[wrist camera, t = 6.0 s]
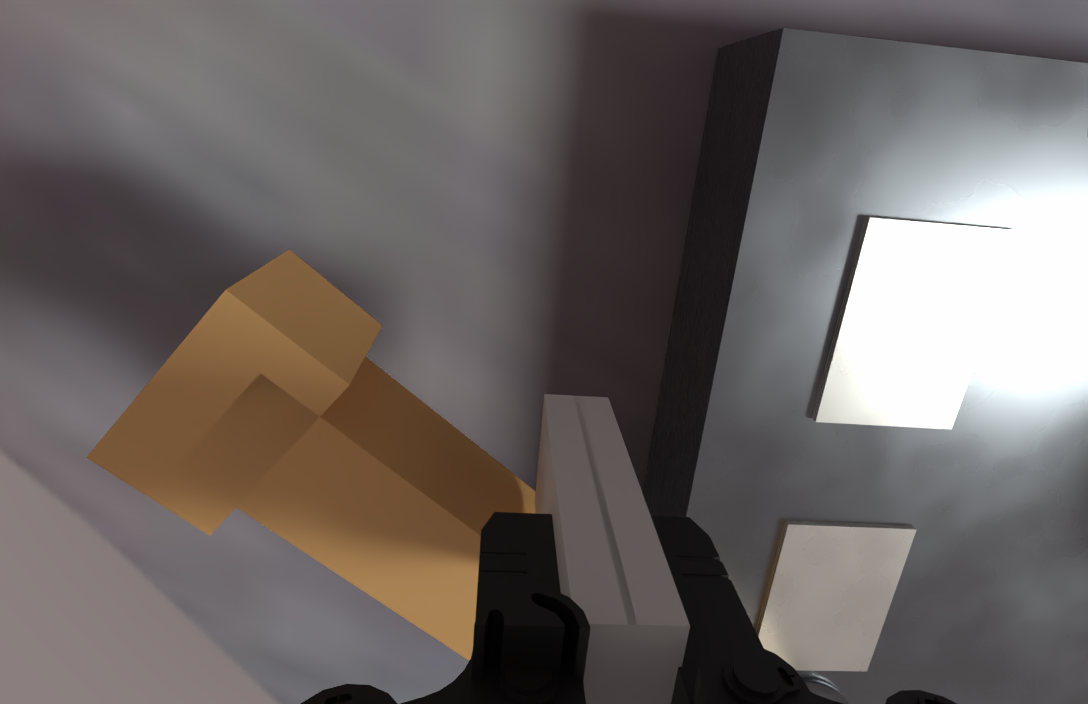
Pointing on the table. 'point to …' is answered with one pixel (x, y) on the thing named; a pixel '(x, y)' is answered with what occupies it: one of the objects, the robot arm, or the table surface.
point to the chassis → (890, 364)
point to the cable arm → (317, 448)
